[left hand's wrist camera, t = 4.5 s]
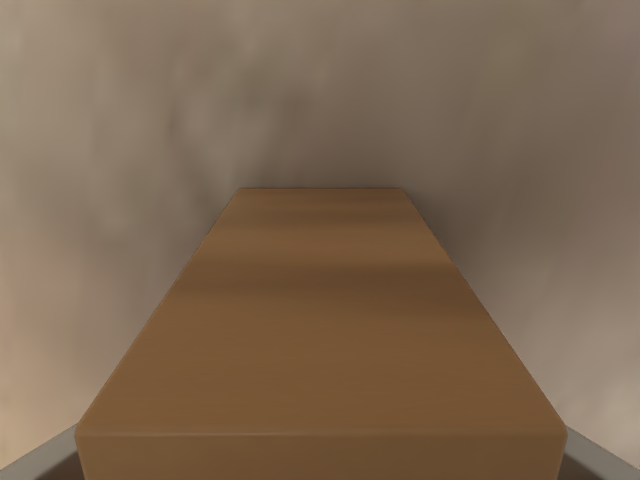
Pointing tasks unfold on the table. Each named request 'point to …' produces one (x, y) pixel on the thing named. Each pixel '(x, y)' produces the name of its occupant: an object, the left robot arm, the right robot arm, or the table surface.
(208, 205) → the table surface
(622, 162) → the table surface
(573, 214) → the table surface
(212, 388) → the bar
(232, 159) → the table surface
